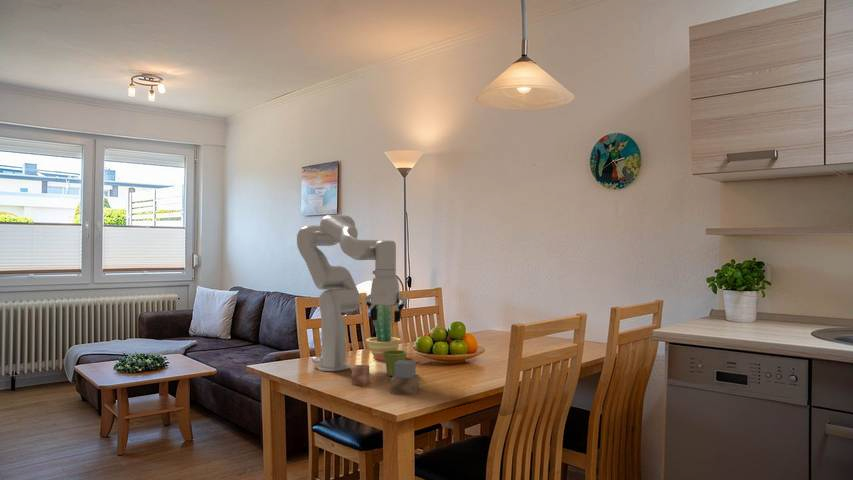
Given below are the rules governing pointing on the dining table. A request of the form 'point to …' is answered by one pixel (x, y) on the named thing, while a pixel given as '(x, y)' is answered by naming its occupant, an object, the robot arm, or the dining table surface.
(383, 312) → the potted cactus
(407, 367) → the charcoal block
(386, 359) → the plant pot
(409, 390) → the walnut base block
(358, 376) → the brownish pink block
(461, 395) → the dining table surface
